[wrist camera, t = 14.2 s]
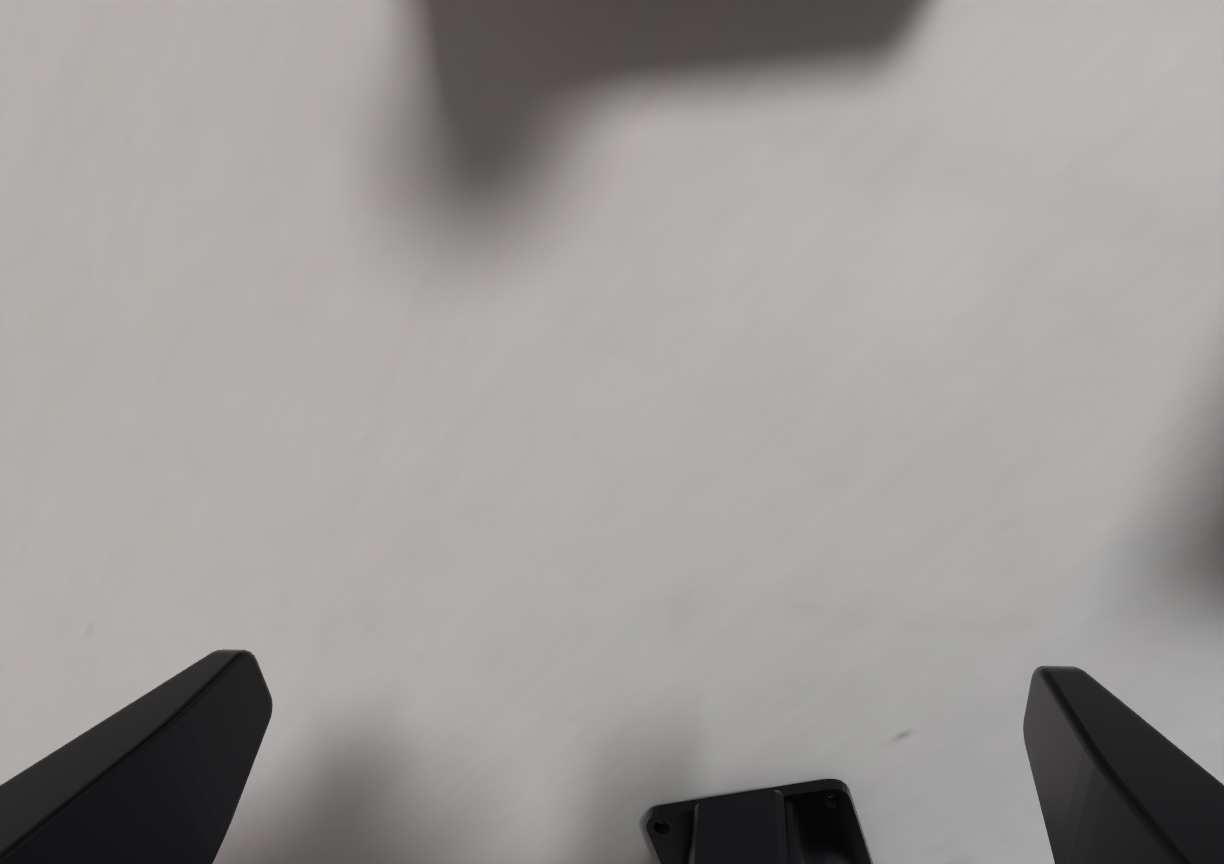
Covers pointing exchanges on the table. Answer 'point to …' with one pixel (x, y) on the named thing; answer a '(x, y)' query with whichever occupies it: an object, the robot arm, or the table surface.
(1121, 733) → the robot arm
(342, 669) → the table surface
